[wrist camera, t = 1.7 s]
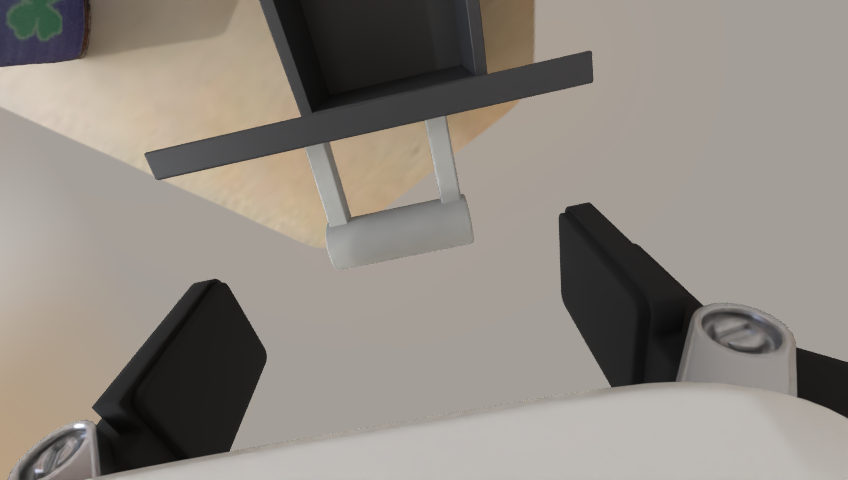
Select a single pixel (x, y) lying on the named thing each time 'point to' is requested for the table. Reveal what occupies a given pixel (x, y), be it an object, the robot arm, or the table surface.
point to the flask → (43, 31)
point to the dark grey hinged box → (373, 47)
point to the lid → (398, 226)
